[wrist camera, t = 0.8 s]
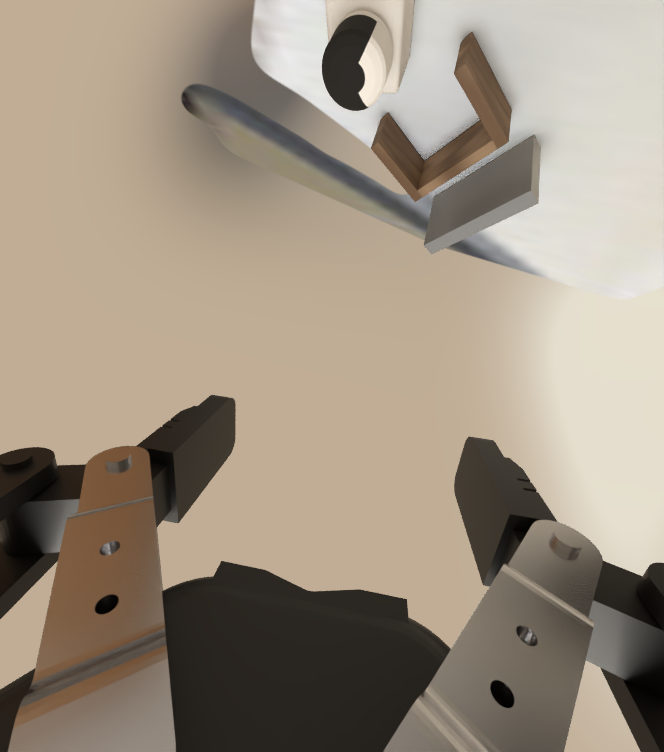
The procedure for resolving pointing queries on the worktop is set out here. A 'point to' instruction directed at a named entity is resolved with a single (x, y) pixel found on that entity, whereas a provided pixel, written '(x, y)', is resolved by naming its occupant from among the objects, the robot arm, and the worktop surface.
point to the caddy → (461, 150)
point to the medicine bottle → (366, 49)
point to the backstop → (486, 196)
